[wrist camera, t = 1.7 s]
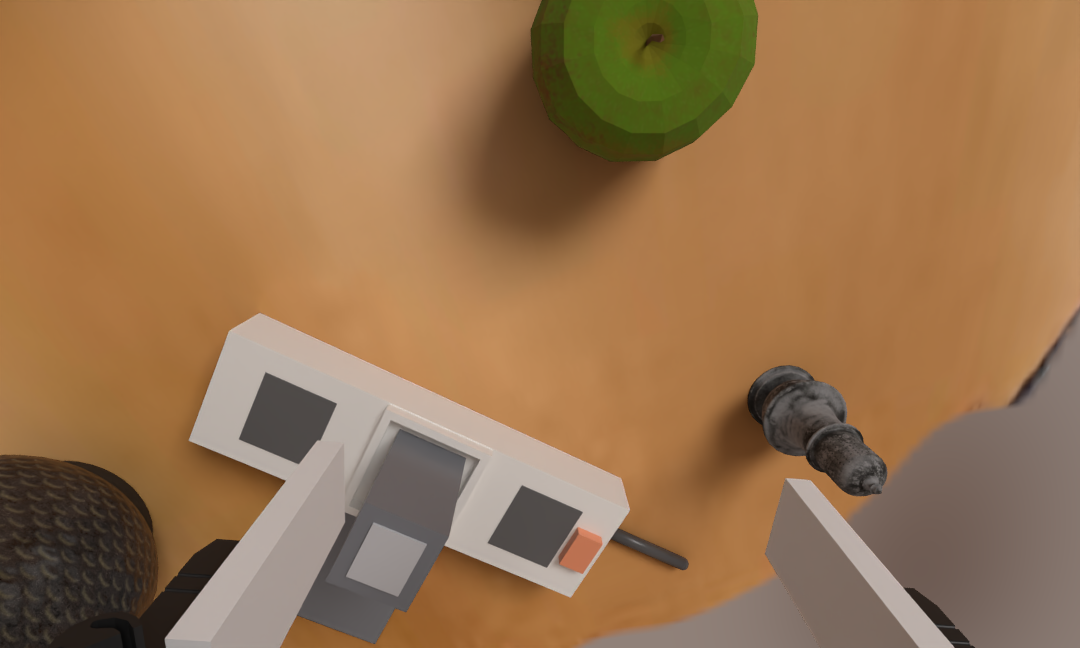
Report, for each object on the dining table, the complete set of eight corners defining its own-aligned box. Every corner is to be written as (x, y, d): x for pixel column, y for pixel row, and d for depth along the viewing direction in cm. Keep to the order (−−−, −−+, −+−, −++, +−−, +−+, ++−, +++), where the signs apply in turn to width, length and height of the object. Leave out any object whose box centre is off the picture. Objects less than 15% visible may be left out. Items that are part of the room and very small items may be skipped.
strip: (221, 413, 40) (181, 446, 36) (259, 312, 38) (222, 334, 33) (657, 597, 46) (671, 646, 42) (714, 521, 44) (735, 563, 39)
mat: (245, 591, 45) (243, 595, 45) (293, 484, 42) (291, 487, 42) (376, 640, 47) (374, 644, 47) (431, 541, 44) (430, 544, 44)
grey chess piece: (733, 381, 40) (813, 472, 29) (808, 349, 39) (921, 429, 28) (757, 442, 42) (843, 551, 30) (830, 413, 41) (945, 513, 30)
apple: (713, -32, 32) (802, -122, 21) (702, 157, 35) (774, 158, 25) (528, -26, 32) (526, -114, 21) (534, 162, 35) (535, 166, 25)
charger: (366, 495, 38) (324, 583, 30) (400, 428, 36) (364, 503, 29) (430, 521, 39) (405, 614, 31) (466, 458, 37) (448, 538, 29)
